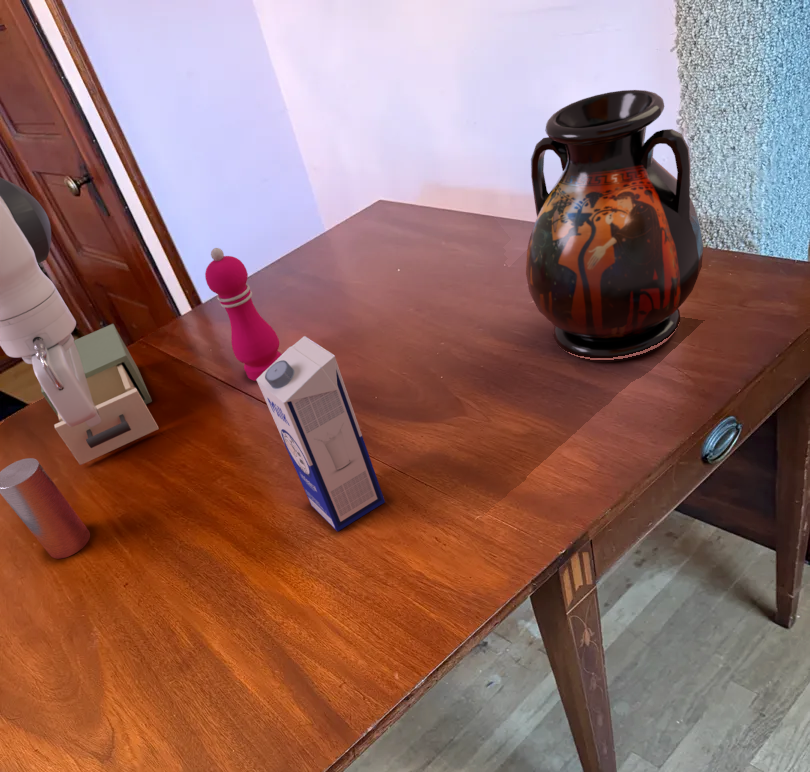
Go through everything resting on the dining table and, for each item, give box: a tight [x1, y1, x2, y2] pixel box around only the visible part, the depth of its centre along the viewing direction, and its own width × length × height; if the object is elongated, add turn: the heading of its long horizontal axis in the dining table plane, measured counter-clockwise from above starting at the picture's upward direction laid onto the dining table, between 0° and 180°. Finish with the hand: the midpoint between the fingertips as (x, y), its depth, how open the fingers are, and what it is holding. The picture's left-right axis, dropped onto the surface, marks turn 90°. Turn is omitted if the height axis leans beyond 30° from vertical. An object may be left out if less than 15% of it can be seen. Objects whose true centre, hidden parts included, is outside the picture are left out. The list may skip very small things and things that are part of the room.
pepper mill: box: [204, 247, 282, 382], centre depth 112 cm, size 7×7×20 cm
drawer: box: [53, 363, 159, 466], centre depth 111 cm, size 18×12×7 cm
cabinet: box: [39, 323, 153, 419], centre depth 121 cm, size 15×14×9 cm
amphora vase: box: [525, 89, 704, 363], centre depth 92 cm, size 22×22×28 cm
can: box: [0, 457, 91, 560], centre depth 93 cm, size 6×6×12 cm
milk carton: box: [256, 335, 386, 532], centre depth 82 cm, size 7×7×20 cm
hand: (94, 420), depth 97 cm, fingers closed
